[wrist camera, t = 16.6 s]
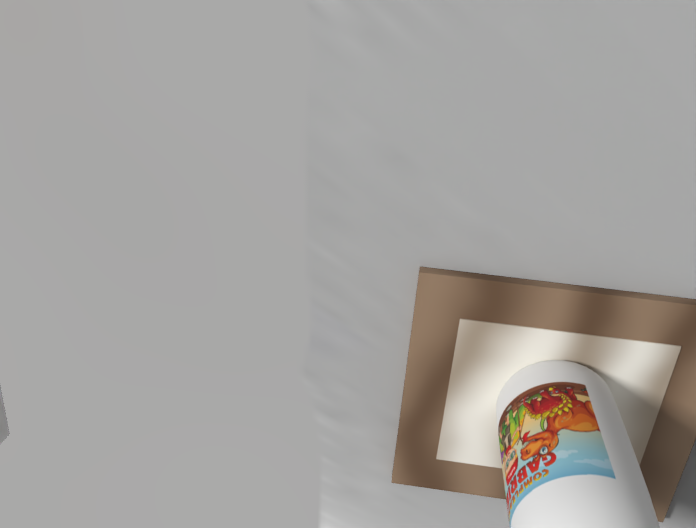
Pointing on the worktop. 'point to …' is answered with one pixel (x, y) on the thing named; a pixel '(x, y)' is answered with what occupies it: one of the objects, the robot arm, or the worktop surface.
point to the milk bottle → (568, 452)
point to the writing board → (531, 347)
